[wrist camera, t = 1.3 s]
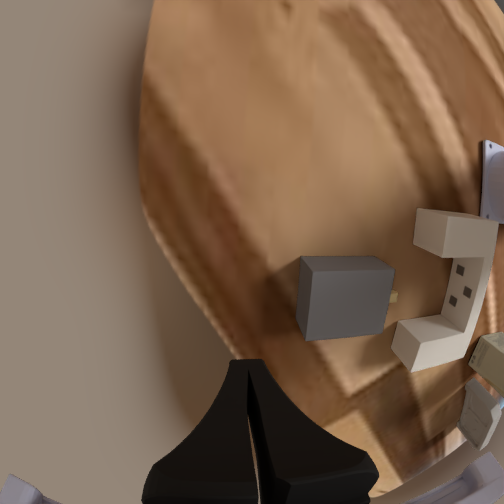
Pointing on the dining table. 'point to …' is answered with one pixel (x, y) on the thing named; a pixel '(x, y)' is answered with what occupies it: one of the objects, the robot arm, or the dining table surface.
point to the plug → (343, 296)
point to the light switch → (478, 415)
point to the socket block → (449, 287)
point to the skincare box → (490, 360)
